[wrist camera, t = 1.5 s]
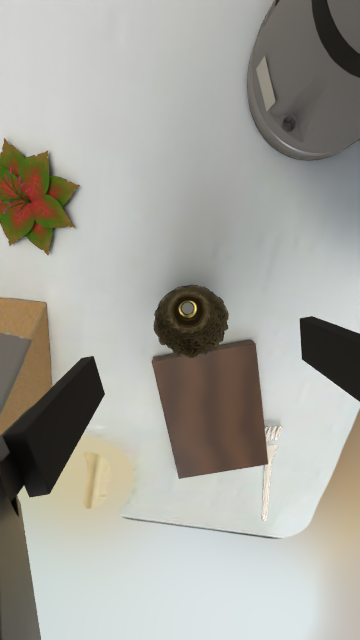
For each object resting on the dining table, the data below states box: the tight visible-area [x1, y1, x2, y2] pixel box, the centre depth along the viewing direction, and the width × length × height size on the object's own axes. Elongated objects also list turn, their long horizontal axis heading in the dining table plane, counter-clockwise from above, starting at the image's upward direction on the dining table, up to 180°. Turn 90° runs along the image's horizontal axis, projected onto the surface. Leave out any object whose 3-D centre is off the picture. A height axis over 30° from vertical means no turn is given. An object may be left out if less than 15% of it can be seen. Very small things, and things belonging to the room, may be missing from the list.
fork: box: [262, 426, 282, 521], centre depth 36 cm, size 3×20×2 cm, turn 2°
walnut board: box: [152, 340, 268, 479], centre depth 33 cm, size 14×20×2 cm
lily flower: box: [0, 138, 80, 255], centre depth 24 cm, size 12×12×5 cm
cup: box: [154, 285, 228, 359], centre depth 26 cm, size 8×7×8 cm
